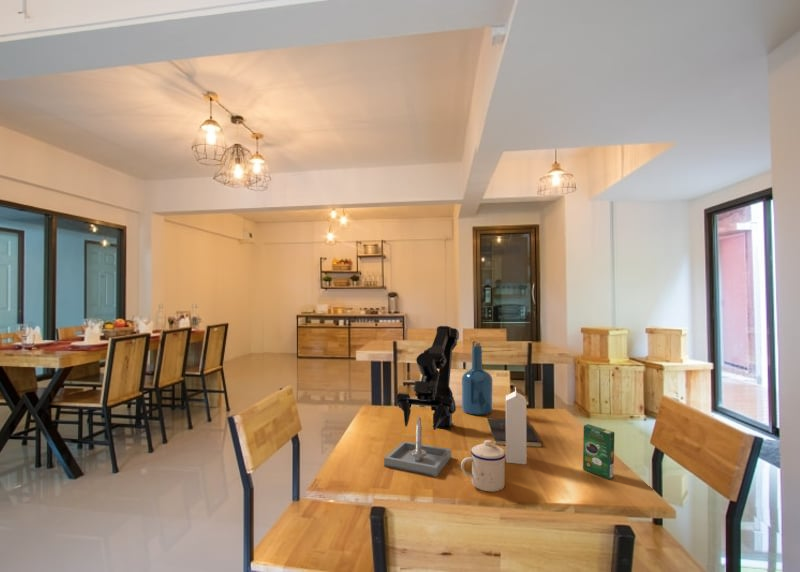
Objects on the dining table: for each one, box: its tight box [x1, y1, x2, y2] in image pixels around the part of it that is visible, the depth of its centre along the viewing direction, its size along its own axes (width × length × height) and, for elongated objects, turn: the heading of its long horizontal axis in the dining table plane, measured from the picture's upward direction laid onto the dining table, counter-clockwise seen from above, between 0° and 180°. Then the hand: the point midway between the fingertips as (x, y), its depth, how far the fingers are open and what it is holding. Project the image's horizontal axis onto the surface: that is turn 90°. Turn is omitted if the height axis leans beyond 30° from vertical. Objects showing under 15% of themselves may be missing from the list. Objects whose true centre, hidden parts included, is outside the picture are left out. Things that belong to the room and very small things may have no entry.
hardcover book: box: [486, 417, 543, 448], centre depth 144 cm, size 16×23×2 cm
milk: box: [505, 386, 527, 466], centre depth 122 cm, size 6×6×22 cm
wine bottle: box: [461, 342, 494, 416], centre depth 171 cm, size 14×13×30 cm
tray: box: [383, 440, 452, 478], centre depth 120 cm, size 16×14×2 cm
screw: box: [411, 416, 427, 461], centre depth 120 cm, size 13×5×5 cm
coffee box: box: [582, 423, 616, 481], centre depth 112 cm, size 8×3×13 cm, turn 35°
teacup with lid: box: [460, 439, 506, 493], centre depth 106 cm, size 12×9×12 cm
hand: (419, 427), depth 121 cm, fingers open, 9 cm apart
